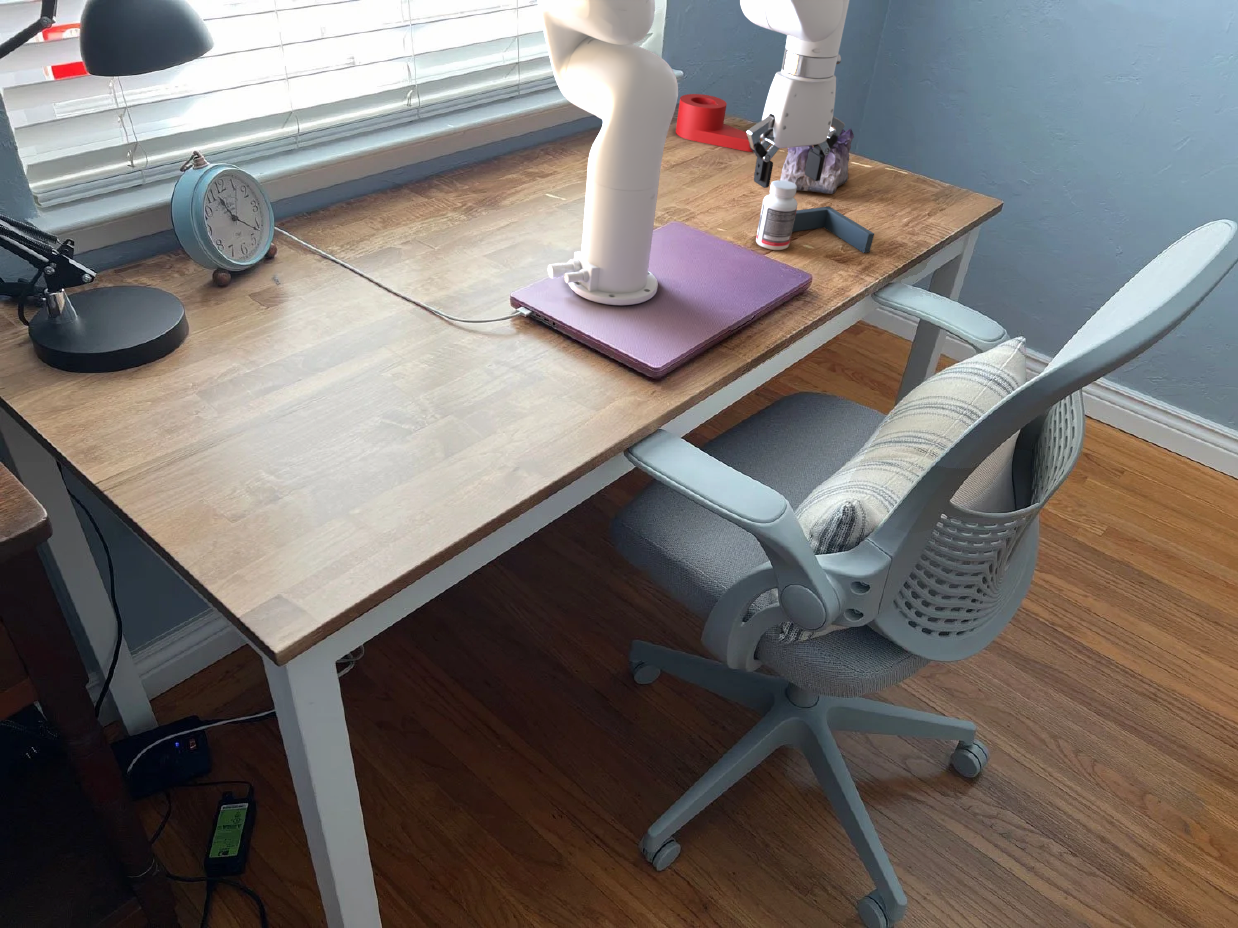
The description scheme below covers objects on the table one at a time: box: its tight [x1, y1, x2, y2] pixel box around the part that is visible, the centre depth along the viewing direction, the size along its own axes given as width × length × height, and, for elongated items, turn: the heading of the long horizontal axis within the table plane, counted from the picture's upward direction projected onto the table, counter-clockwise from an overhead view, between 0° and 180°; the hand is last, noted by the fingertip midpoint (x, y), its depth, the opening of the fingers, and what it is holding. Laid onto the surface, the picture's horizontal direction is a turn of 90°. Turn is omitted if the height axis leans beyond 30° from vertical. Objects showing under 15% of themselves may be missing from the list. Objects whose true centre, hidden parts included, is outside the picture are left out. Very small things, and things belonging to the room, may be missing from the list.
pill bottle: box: [755, 179, 798, 251], centre depth 149 cm, size 5×5×10 cm
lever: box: [675, 93, 754, 153], centre depth 191 cm, size 18×9×7 cm, turn 57°
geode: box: [779, 127, 855, 195], centre depth 175 cm, size 20×12×10 cm, turn 155°
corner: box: [792, 205, 875, 254], centre depth 153 cm, size 13×12×3 cm
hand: (786, 181), depth 146 cm, fingers open, 9 cm apart
